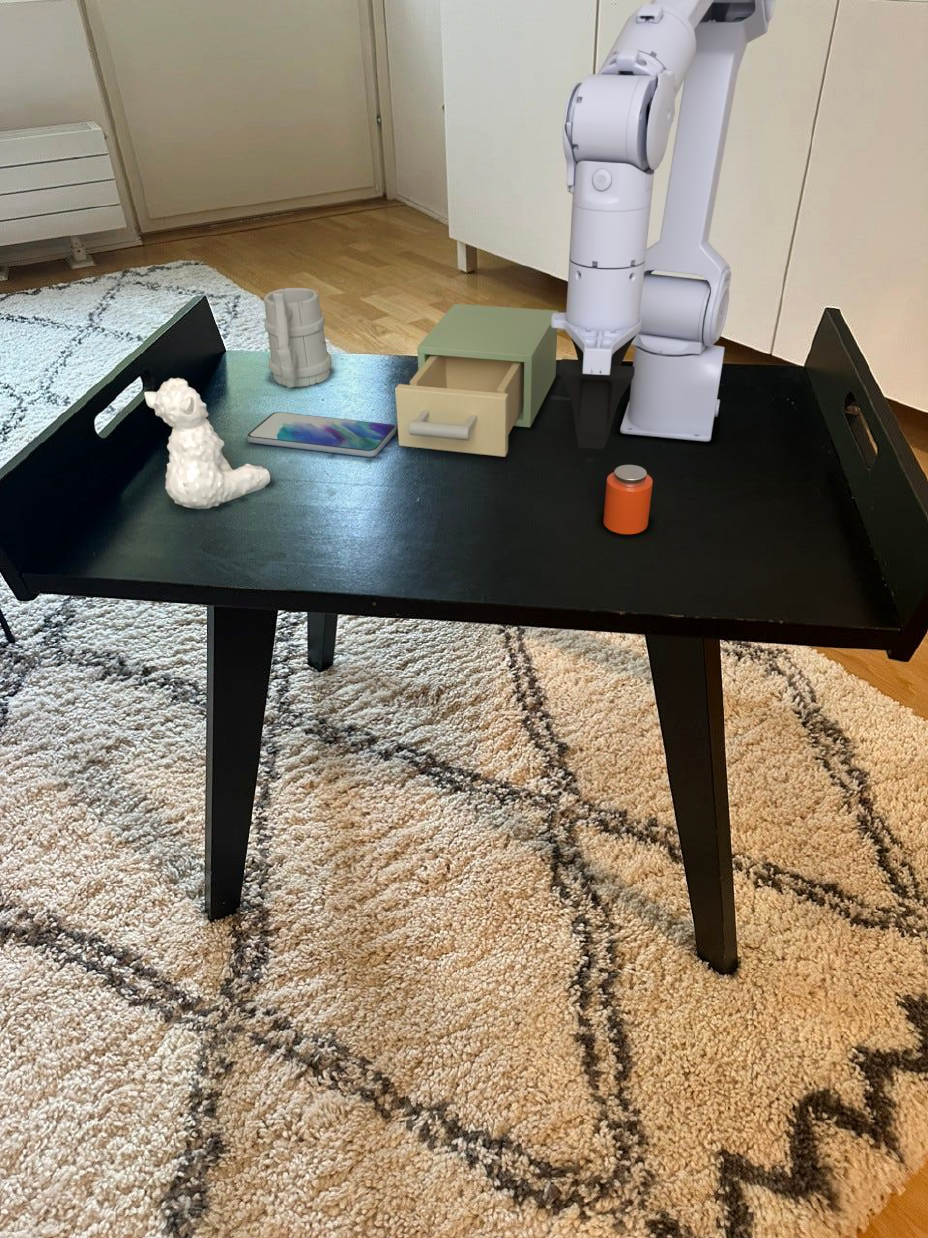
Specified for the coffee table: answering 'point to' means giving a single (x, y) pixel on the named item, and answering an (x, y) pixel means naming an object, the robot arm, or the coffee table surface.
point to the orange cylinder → (627, 500)
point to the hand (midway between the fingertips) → (593, 427)
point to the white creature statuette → (198, 452)
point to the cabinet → (500, 345)
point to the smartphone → (322, 434)
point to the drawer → (461, 405)
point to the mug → (296, 337)
